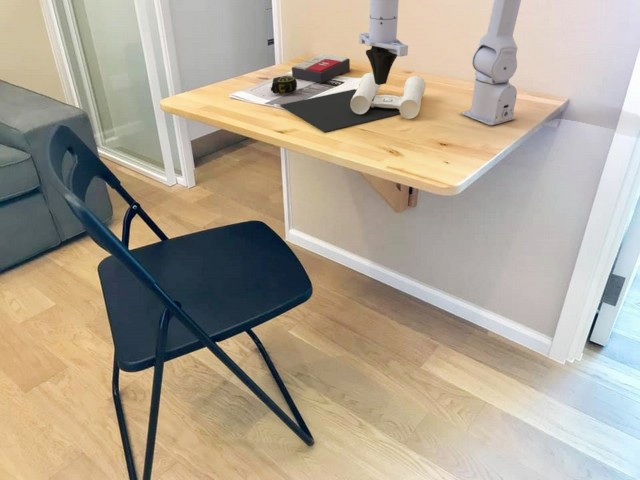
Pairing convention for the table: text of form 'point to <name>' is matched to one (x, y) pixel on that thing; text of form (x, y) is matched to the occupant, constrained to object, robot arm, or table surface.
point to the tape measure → (284, 84)
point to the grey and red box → (321, 68)
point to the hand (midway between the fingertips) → (380, 83)
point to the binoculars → (389, 96)
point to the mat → (335, 111)
